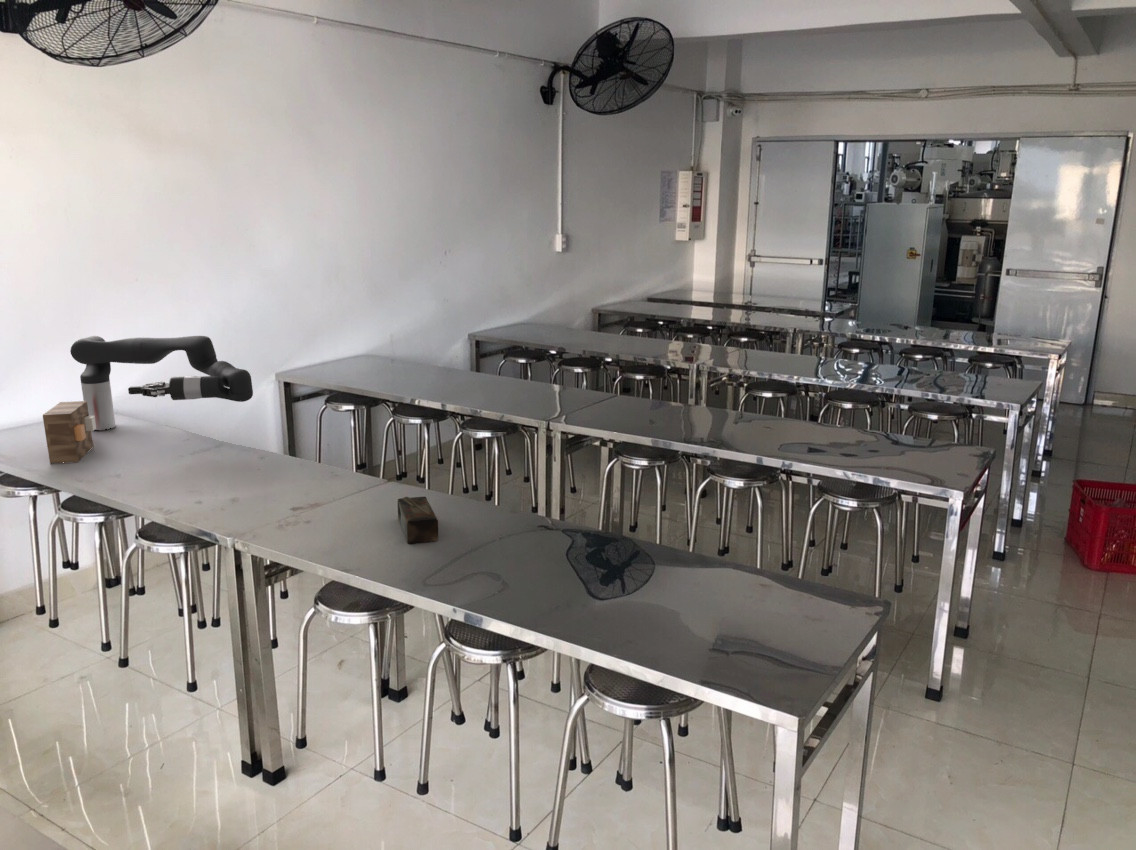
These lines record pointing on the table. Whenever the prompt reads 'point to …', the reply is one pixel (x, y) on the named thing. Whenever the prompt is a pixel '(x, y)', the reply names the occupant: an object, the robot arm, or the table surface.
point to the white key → (90, 423)
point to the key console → (66, 432)
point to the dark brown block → (417, 520)
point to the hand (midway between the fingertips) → (129, 390)
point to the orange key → (79, 432)
